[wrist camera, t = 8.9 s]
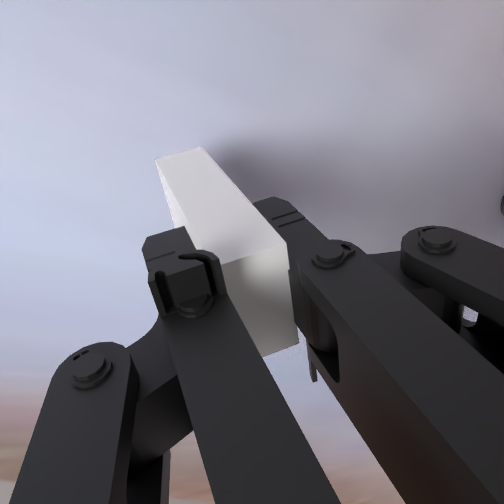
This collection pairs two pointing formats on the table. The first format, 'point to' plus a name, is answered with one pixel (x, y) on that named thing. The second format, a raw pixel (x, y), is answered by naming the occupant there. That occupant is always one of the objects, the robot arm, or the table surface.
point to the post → (502, 206)
